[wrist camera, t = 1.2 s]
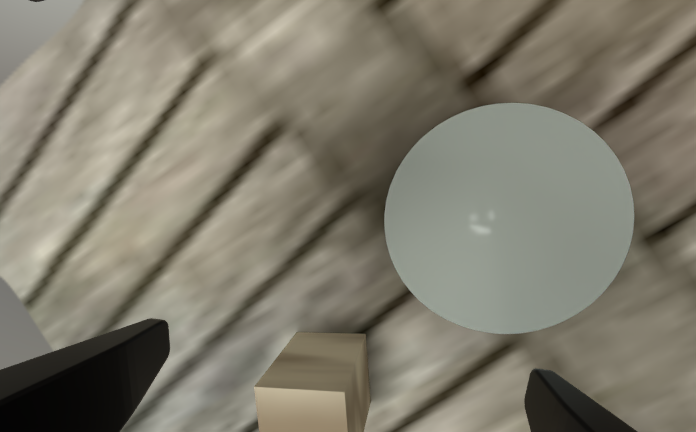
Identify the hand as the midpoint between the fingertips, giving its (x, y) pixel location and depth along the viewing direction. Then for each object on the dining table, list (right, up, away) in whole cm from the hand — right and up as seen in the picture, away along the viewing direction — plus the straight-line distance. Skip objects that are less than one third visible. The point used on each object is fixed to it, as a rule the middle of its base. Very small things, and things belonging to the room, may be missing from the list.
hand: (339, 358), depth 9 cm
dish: (+8, +3, +11) cm, 14 cm away
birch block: (-1, -6, +14) cm, 16 cm away
